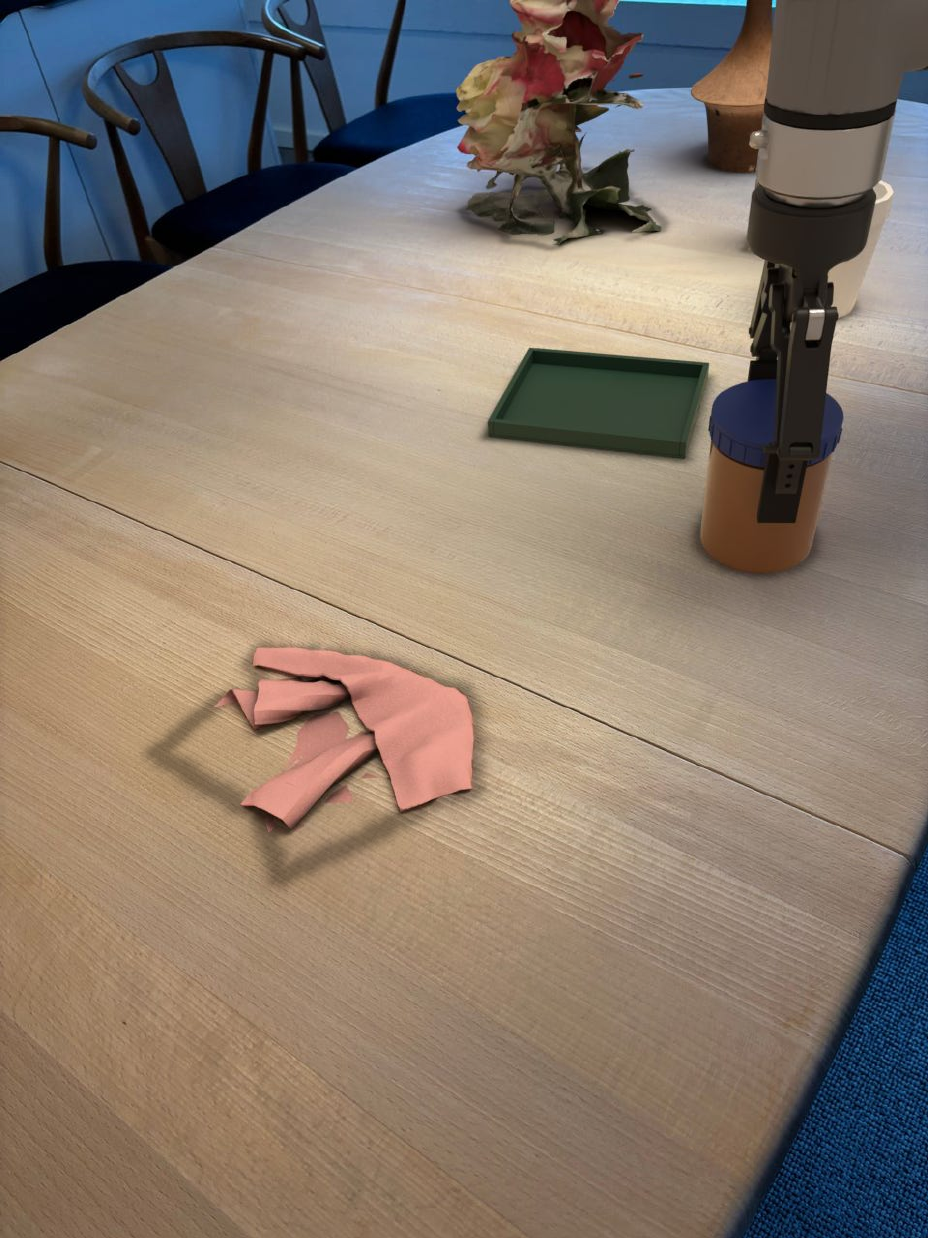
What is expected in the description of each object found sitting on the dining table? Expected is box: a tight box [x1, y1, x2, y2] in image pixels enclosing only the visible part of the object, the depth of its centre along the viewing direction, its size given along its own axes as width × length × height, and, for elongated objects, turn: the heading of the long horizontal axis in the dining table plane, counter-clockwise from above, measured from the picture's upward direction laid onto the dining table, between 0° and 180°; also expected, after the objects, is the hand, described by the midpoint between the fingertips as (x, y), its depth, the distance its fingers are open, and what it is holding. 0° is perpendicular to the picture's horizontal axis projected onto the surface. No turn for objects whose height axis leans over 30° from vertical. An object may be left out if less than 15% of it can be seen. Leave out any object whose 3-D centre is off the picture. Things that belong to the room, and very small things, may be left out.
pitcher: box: [690, 0, 773, 174], centre depth 135 cm, size 18×17×28 cm
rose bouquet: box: [455, 0, 692, 246], centre depth 124 cm, size 26×29×30 cm
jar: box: [699, 439, 833, 574], centre depth 75 cm, size 9×9×12 cm
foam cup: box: [828, 179, 895, 319], centre depth 103 cm, size 10×9×13 cm
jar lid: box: [708, 379, 844, 468], centre depth 71 cm, size 10×10×2 cm
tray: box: [487, 347, 710, 460], centre depth 95 cm, size 19×15×2 cm
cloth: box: [213, 646, 475, 833], centre depth 66 cm, size 20×22×2 cm
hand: (766, 474), depth 74 cm, fingers open, 11 cm apart
